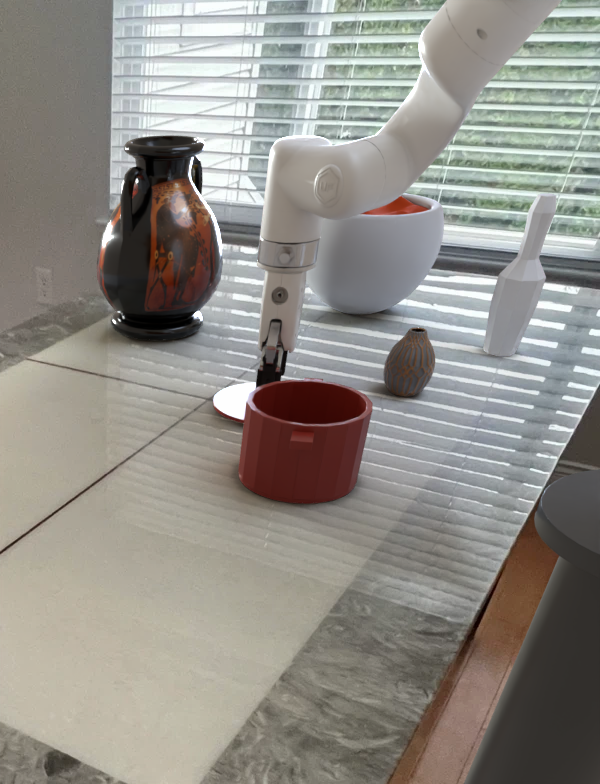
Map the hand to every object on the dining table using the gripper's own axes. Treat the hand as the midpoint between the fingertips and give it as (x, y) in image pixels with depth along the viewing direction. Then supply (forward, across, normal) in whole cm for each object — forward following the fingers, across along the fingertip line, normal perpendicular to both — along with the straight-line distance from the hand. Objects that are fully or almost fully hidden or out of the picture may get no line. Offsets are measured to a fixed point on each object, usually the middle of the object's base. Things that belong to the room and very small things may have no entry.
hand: (269, 386), depth 120 cm
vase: (+4, +11, -19) cm, 22 cm away
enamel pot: (+3, -21, -6) cm, 22 cm away
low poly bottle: (+4, +32, -34) cm, 47 cm away
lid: (+3, 0, 0) cm, 3 cm away
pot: (+3, +52, -11) cm, 53 cm away
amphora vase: (+3, +33, +23) cm, 40 cm away
